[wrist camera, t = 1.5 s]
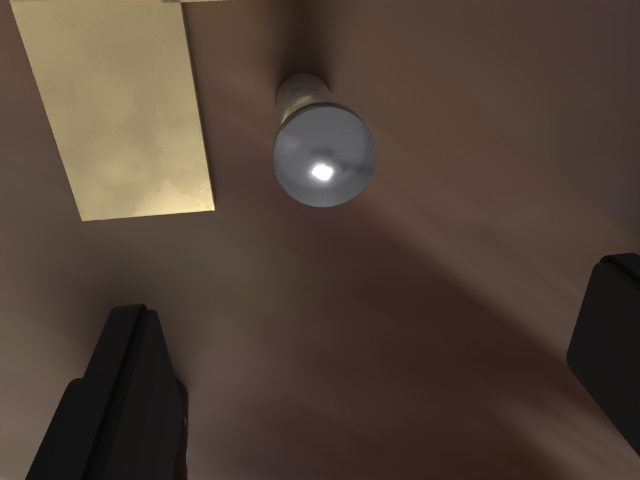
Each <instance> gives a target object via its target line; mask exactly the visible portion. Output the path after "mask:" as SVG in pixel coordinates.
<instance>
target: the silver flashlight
mask: <svg viewBox="0 0 640 480" xmlns="http://www.w3.org/2000/svg"><path fill="white" fill-rule="evenodd" d="M276 104H277V110H278V116H279V123H280V127H279V129H278V131H277V133H276V136H275V139H274V144H273V161H274V169H275V173H276V176H277V178H278V181H279V183H280V184H281V186H282V187H283V189H284V190H285V191H286V192H287V193H288V194H289V195H290V196H291V197H293V198H294V199H296V200H297V201H299V202H301V203H304V204H307V205H310V206H316V207H329V206H335V205H339V204H341V203H344V202H346V201H348V200H350V199H352V198H353V197H355V196H356V195H357V194H358V193H359V192H361V191H362V190H363V188H364V187H365V186H366V185H367V183H368V182H369V180H370V178H371V176H372V174H373V172H374V169H375V165H376V157H377V156H376V146H375V142H374V139H373V136H372V134H371V132H370V131H369V129H368V128H367V126H366V125H365V123H364V122H363V121H362V119H361V118H360V117H359V116H358V115H357V114H356V113H355V112H354V111H352V110H351V109H349V108H347V107H345V106H343V105H341V104H338V103H337V102H336V100H335V99H334V97H333V95H332V94H331V92H330V91H329V89H328V87H327V86H326V84H325V83H324V82H323V81H322V80H321V79H320V78H319V77H317V76H315V75H313V74H310V73H298V74H294V75H292V76H290V77H288V78H287V79H286V80H285V81H284V82H283V83H282V84H281V86H280V88H279V90H278V92H277V98H276Z"/></svg>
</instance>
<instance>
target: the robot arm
mask: <svg viewBox="0 0 640 480" xmlns="http://www.w3.org/2000/svg"><path fill="white" fill-rule="evenodd" d="M567 363H568V366H569V368H570V370H571V371H572V372H573V374H574V375H575V376H576V378H577V379H578V380H579V381H580V383H581V384H582V385H583V386H584V388H585V389H586V390H587V391H588V393H589V394H590V395H591V396H592V398H593V399H594V400H595V401H596V403H597V404H598V405H599V407H600V408H601V409H602V410H603V412H604V413H605V414H606V415H607V417H608V418H609V419H610V420H611V422H612V423H613V424H614V425H615V427H616V428H617V429H618V430H619V432H620V433H621V434H622V436H623V437H624V438H625V439H626V441H627V442H628V443H629V444H630V446H631V447H632V448H633V449H634V451H635V452H636V453H637V454H638V456H639V457H640V256H639V255H637V254H635V253H625V254H615V255H607V256H604V257H603V258H602V259H601V260H600V262H599V263H598V264H596V265H595V266H594V268H593V270H592V274H591V277H590V280H589V283H588V286H587V290H586V293H585V296H584V299H583V303H582V306H581V309H580V312H579V316H578V319H577V322H576V325H575V329H574V332H573V335H572V338H571V341H570V345H569V348H568V351H567ZM181 423H182V402H181V398H180V394H179V390H178V387H177V383H176V380H175V376H174V372H173V369H172V365H171V361H170V358H169V354H168V351H167V347H166V343H165V340H164V336H163V332H162V329H161V325H160V322H159V318H158V315H157V312H156V311H155V310H147V307H146V306H145V305H144V304H136V305H127V306H117V307H114V308H113V309H112V310H111V312H110V315H109V317H108V319H107V322H106V324H105V326H104V329H103V331H102V334H101V336H100V338H99V341H98V343H97V345H96V348H95V350H94V353H93V355H92V357H91V360H90V362H89V364H88V367H87V369H86V372H85V374H84V376H83V378H77V379H73V380H72V381H71V382H70V383H69V385H68V386H67V388H66V390H65V392H64V394H63V396H62V398H61V401H60V403H59V405H58V407H57V410H56V412H55V414H54V416H53V418H52V421H51V423H50V425H49V427H48V430H47V432H46V434H45V436H44V438H43V441H42V443H41V445H40V447H39V449H38V452H37V454H36V456H35V458H34V461H33V463H32V465H31V467H30V469H29V472H28V474H27V476H26V478H25V480H172V479H173V473H174V466H175V460H176V454H177V448H178V441H179V435H180V429H181Z"/></svg>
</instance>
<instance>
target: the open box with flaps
mask: <svg viewBox="0 0 640 480" xmlns="http://www.w3.org/2000/svg"><path fill="white" fill-rule="evenodd" d="M198 1H221V0H10V4H11V7H12V10H13V13H14V16H15V19H16V22H17V25H18V28H19V31H20V34H21V37H22V40H23V43H24V46H25V49H26V52H27V55H28V58H29V61H30V64H31V67H32V70H33V73H34V76H35V79H36V82H37V85H38V89H39V92H40V95H41V98H42V101H43V104H44V107H45V110H46V113H47V116H48V119H49V122H50V125H51V128H52V131H53V134H54V137H55V140H56V143H57V146H58V149H59V152H60V155H61V158H62V161H63V164H64V167H65V170H66V173H67V176H68V179H69V182H70V185H71V189H72V192H73V195H74V198H75V201H76V204H77V207H78V210H79V213H80V216H81V219H82V221H89V220H101V219H112V218H124V217H136V216H148V215H160V214H172V213H184V212H196V211H208V210H215V205H216V201H215V195H214V189H213V183H212V177H211V170H210V164H209V158H208V152H207V146H206V140H205V134H204V128H203V121H202V115H201V109H200V103H199V97H198V91H197V85H196V78H195V72H194V66H193V60H192V54H191V48H190V42H189V35H188V29H187V23H186V17H185V11H184V5H183V2H198Z"/></svg>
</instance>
